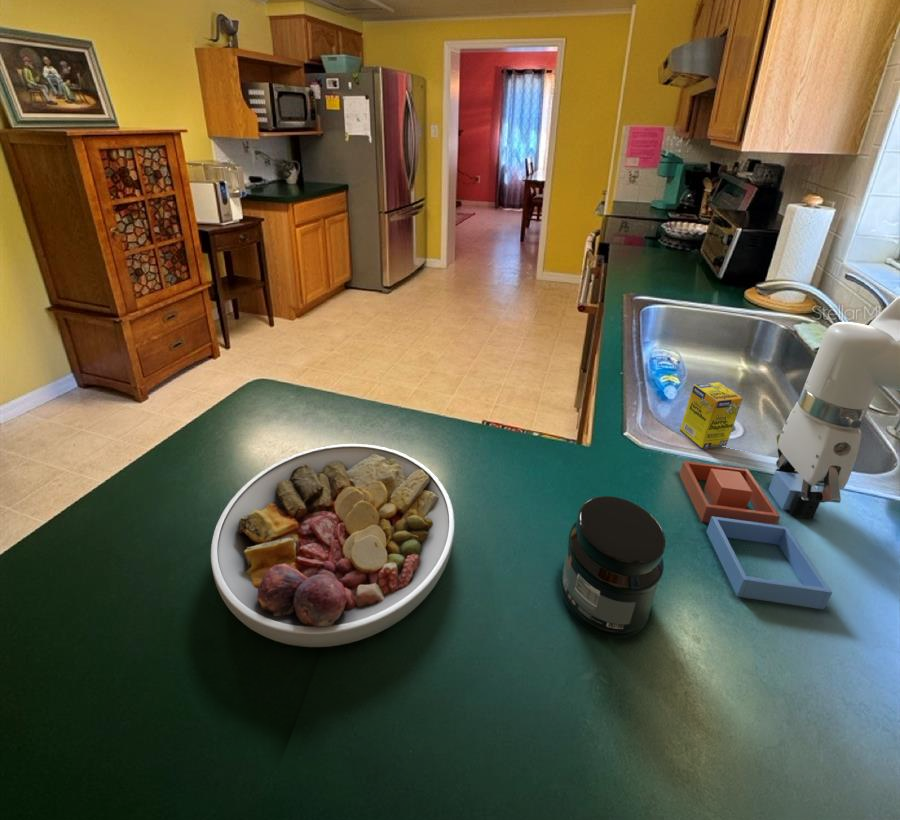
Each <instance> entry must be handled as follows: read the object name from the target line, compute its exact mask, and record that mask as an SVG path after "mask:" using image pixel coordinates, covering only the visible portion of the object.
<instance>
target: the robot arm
mask: <svg viewBox="0 0 900 820" xmlns="http://www.w3.org/2000/svg"><path fill="white" fill-rule="evenodd" d="M879 387H884V388H888V389H891V390H894V391H897V392H900V295H898V296H897V297H896V298H895V299H893V301H892V302H891V303H889V304H888V305H887V306H886V307H885V308H884V309H883V310H881V312H879V313H878V314H877V315H876V317H874V319H872V321H870V323H868V325H867V324H863V323H859V322H851V321H839V322H835V323H833V324H831V325H830V326H828V327H827V329H826V331H825V332H824V335H823V337H822V340H821V342H820V345H819V348H818V349H817V353H816V355H815V358H814V360H813V363H812V365H811V368H810V370H809V373H808V375H807V377H806V381H805V383H804V385H803V388H802V390H801V392H800V395H799V398H798V401H797V402H796V403H795V404H794V407H792V410H791V412H790V413H789V415H788V417H787V419H786V421H785V423H784V425H783V427H782V430H781V432H780V433H779V434H777V435H776V442H777V448H778V449H777V454H778V459H777V460H776V462H775V465H776V467H777V468H776V469H775V472H776V471H781V472H788V473H796V474H800V476H801V477H802V478H803V484H802V489H801V495H796V497H795V499H794V502H793V504H792V506H791V509H790V510H788V514H789V516H790V517H791V516H792V517H798V518H799V517H800V518H803V519H814V517H815V515H816V512H817V510H818V508H819V505H820V504H822V503H823V504H824V503H834V504H835V503H836V504H840V503H841V500H842V499H841V490H843V489H845V487H846V485H847V484H848V481H849V479H850V476H851V475H852V472H853V469H854V466H855V464H856V460H857V457H858V454H859V450H860V446H861V441H862V440H861V439H862V430H861V429H860V428H861V426H862V425H863V421H864V419H865V416H866V414H867V412H868V410H869V408H870V406H871V404H872V401H873V399H874V398H875V394H876V392H877V390H878V388H879ZM812 486H815V487H817V488H816V489H817V492H811V487H812Z"/></svg>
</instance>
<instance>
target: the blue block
mask: <svg viewBox="0 0 900 820" xmlns="http://www.w3.org/2000/svg"><path fill="white" fill-rule="evenodd" d="M802 484H803V478H802V477H801V476H800V474H796V473H788V472H781V471H776V470H775V472H774V475H773V477H772V479H771V482H770V484H769V487H768V491H769V492H770V494H771V495H772V497H773V499H774V500H775V501H776V503H777V504H778V506H779V507H780V509H781V510H783V511H790V509H791V506H792V504H793V502H794V499H795V497H796V495H801V489H802ZM817 489H818V488H817V487H816V486H812V487H811V492H817Z"/></svg>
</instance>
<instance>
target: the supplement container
mask: <svg viewBox="0 0 900 820" xmlns="http://www.w3.org/2000/svg"><path fill="white" fill-rule="evenodd" d="M666 541H667V540H666V536H665V531H664V530H663V528H662V526H661V525H660V523H659V522H658V521H657V519H656V517H654V516H653V515H652V514H651V513H649V512H648V511H647V510H646V509H644V508H643V507H642V506H640V505H638V504H636V503H634V502H632V501H630V500H627V499H624V498H621V497H617V496H608V495H603V496H602V495H601V496H596V497H593V498H591V499H588V500H587V501H585V502H584V503H583V504H582V505H581V506H580V508H579V511H578V514H577V519H576V521H575V522H574V523H573V525H572V527H571V528H570V530H569V535H568V544H567V549H566V555H565V559H564V565H563V569H562V571H561V576H560V592H561V595H562V598H563V601H564V604H565V605H566V607H567V609H568V610H569V612H570V613H571V614H572V616H573V617H574V618H575V619H576V620H577V621H578V622H579V623H580V624H582V625H583V626H584V627H586V628H587V629H588V630H590V631H592V632H594V633H596V634H598V635H601V636H604V637H608V638H613V639H623V638H628V637H631V636H634V635H636V634H637V633H638V632H640V631H641V630H642V629H643V628H644V627H645V625H646V624H647V622H648V620H649V618H650V613H651V609H652V608H651V607H652V604H653V601H654V598H655V595H656V591H657V589H658V586H659V583H660V582H661V580H662V577H663V574H664V569H665V562H664V553H665V550H666V547H667V543H666Z"/></svg>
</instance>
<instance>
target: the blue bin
mask: <svg viewBox="0 0 900 820" xmlns="http://www.w3.org/2000/svg"><path fill="white" fill-rule="evenodd" d="M706 534H707V536H708V539H709V541H710V542H711V545H712V547H713V549H714V551H715V554H716V555H717V557H718V560H719V561H720V563H721V565H722V568H723V570H724V572H725V574H726V576H727V578H728V581H729V582H730V585H731V586H732V589H733V591H734V592H735V596H736V597H738V598H739V597H740V598H746V599H752V600H759V601H766V602H773V603H778V604H783V605H784V604H786V605H791V606H799V607H803V608H805V607H806V608H812V609H819V610H825V608H826V606H827V604H828V602H829V600H830V598H831V596H832V595H833V591H832V590H831V589H830V587H829V586H828V584H827V582H826V581H825V579H824V578H823V577H822V575H821V574H820V573H819V570H817V568H816V566H815V565H814V564H813V562H812V560H811V559H810V557H809V556H808V555H807V553H806V552H805V551H804V549H803V547H802V546H801V545H800V543H799V542H798V540H797V539H796V537H795V536H794V534H793V533H792V531H791V530H790V529H789V526H786V525H779V524H777V525H772V524H765V523H758V522H750V521H743V520H736V519H728V518H721V517H714V516H712V517H711V520H710V523H708V526H707V529H706ZM728 538H729V539H735V540H743V541H749V542H759V543H763V544H772V545H778V547H779V548H780V550H781V551H782V553H783V554H784V556H785V558H786V559H787V561H788V563H789V564H790V565H791V567H792V569H793V570H794V571H795V573H796V575H797V576H798V578H799V580H800V581H801V583H802V584H801V583H796V582H795V583H794V582H788V581H782V580H774V579H768V578H761V577H756V576H755V577H754V576H747V574H746V572H745V570H744V568H743V566H742V564H741V562H740V561H739V558H738V557H737V555H736V553H735V551H734V549H733V547H732V544H731V542H730V541H729V539H728Z"/></svg>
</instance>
